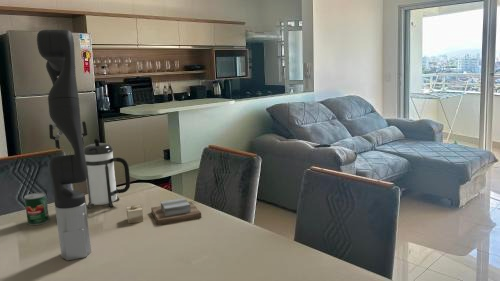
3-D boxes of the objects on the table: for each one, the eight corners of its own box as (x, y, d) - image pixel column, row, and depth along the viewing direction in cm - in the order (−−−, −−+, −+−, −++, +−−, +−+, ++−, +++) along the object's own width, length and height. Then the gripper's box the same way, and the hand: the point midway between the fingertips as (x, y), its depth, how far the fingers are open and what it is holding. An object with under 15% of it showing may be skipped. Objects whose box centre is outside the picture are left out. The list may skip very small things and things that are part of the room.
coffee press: (95, 213, 181) (87, 143, 176) (80, 204, 193) (73, 139, 188) (132, 202, 193) (126, 137, 187) (116, 195, 205) (110, 133, 199)
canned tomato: (47, 216, 179) (43, 191, 177) (51, 221, 173) (47, 195, 171) (26, 221, 175) (22, 195, 173) (29, 226, 169) (25, 200, 167)
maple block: (143, 221, 170) (142, 207, 169) (128, 223, 168) (127, 209, 167) (141, 216, 175) (140, 203, 174) (127, 219, 173) (126, 205, 172)
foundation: (201, 217, 171) (200, 205, 170) (158, 225, 165) (157, 212, 164) (191, 205, 186) (190, 194, 185) (151, 212, 180) (150, 200, 179)
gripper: (46, 110, 168) (51, 151, 171) (85, 107, 174) (89, 146, 177) (46, 109, 175) (50, 148, 178) (83, 106, 181) (87, 144, 184)
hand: (70, 147), depth 177 cm, fingers open, 8 cm apart
